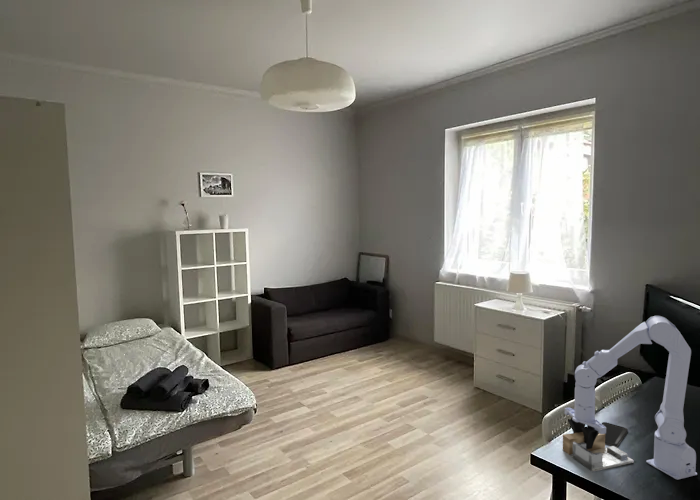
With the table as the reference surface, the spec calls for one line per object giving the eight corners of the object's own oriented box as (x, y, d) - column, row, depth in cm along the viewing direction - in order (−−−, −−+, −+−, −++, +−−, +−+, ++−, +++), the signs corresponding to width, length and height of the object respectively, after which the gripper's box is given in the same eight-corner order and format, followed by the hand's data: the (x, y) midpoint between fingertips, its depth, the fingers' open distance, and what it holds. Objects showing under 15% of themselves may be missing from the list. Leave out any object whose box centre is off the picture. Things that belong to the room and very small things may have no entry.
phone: (628, 428, 149) (617, 445, 138) (628, 431, 149) (616, 448, 139) (602, 421, 155) (589, 436, 144) (602, 424, 155) (589, 440, 144)
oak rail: (597, 444, 141) (597, 429, 140) (604, 449, 138) (605, 434, 137) (562, 449, 138) (562, 434, 137) (569, 454, 135) (569, 439, 135)
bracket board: (610, 449, 138) (611, 434, 137) (633, 462, 130) (633, 446, 130) (571, 457, 133) (571, 441, 133) (592, 471, 126) (593, 455, 125)
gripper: (557, 396, 142) (556, 436, 143) (593, 415, 129) (592, 459, 130) (574, 393, 144) (573, 432, 145) (612, 412, 131) (611, 455, 132)
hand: (583, 445), depth 138 cm, fingers closed on oak rail, 3 cm apart
